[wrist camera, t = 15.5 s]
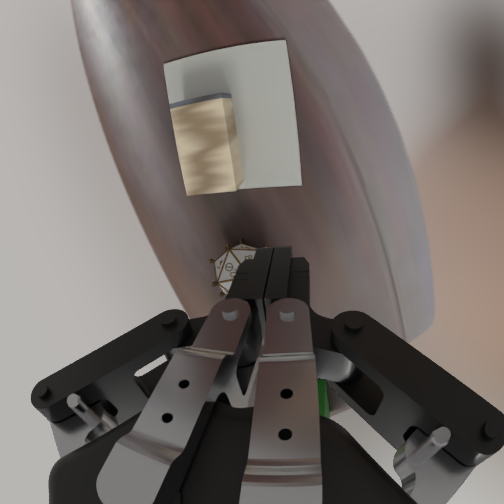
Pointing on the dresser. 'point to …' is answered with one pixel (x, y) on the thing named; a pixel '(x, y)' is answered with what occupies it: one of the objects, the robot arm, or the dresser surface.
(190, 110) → the maple block
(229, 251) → the game die
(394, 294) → the dresser surface
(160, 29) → the dresser surface
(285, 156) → the felt mat
